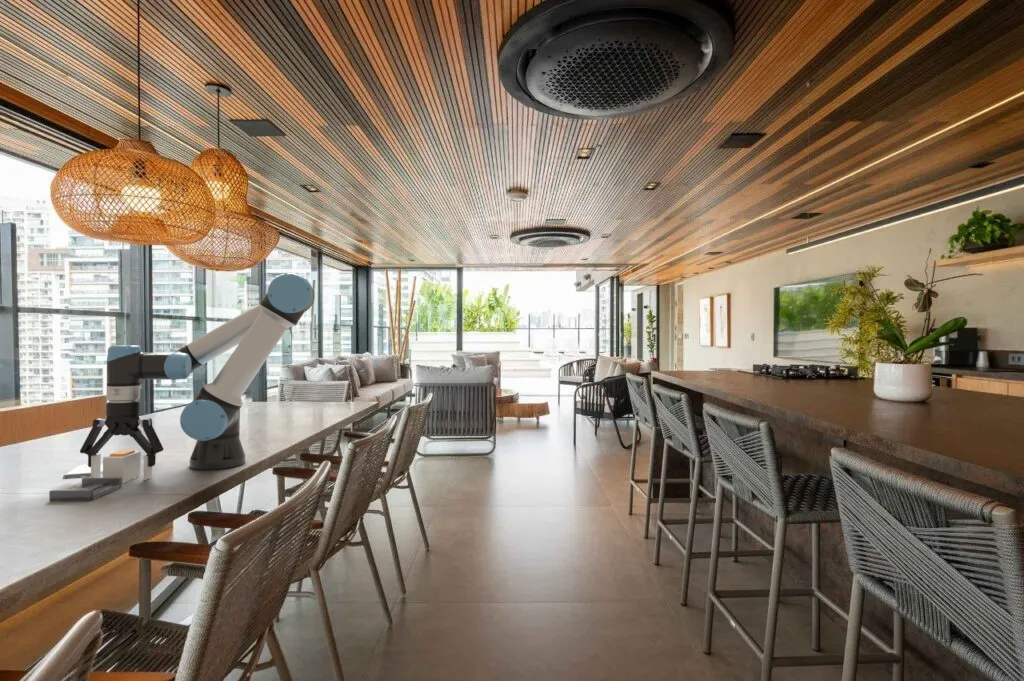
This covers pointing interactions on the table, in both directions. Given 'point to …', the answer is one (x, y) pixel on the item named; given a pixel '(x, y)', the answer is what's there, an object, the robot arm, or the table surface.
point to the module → (122, 465)
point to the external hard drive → (81, 471)
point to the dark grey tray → (87, 490)
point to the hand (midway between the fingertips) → (121, 478)
